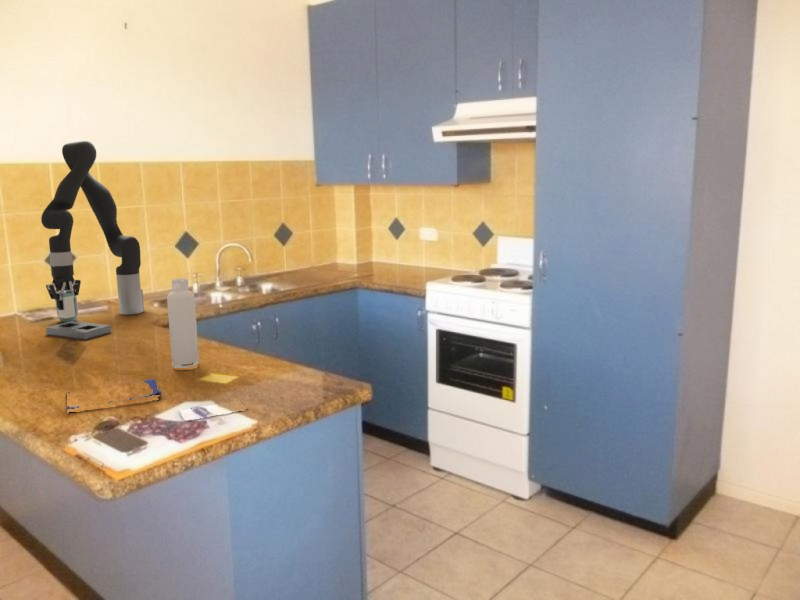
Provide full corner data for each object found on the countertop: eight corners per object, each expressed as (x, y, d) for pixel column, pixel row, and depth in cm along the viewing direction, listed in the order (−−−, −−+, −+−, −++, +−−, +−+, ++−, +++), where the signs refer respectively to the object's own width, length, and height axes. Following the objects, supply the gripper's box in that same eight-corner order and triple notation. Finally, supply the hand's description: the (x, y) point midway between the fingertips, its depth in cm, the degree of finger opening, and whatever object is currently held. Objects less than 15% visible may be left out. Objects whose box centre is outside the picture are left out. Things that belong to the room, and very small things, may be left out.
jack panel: (73, 328, 264) (72, 320, 263) (111, 332, 256) (110, 325, 255) (46, 335, 253) (45, 327, 252) (85, 340, 245) (84, 332, 244)
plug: (67, 315, 258) (65, 292, 256) (75, 316, 256) (73, 293, 254) (58, 317, 254) (56, 294, 252) (66, 318, 252) (64, 294, 251)
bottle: (204, 364, 214) (198, 278, 209) (188, 372, 207) (182, 282, 201) (183, 362, 217) (176, 276, 211) (167, 369, 209) (159, 281, 204)
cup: (70, 323, 271) (67, 299, 269) (53, 323, 273) (50, 298, 271) (83, 319, 279) (80, 295, 277) (66, 318, 280) (64, 295, 278)
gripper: (70, 260, 259) (74, 304, 262) (37, 265, 246) (42, 311, 250) (84, 261, 256) (88, 306, 259) (52, 266, 243) (57, 313, 247)
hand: (66, 308), depth 254 cm, fingers closed on plug, 4 cm apart
